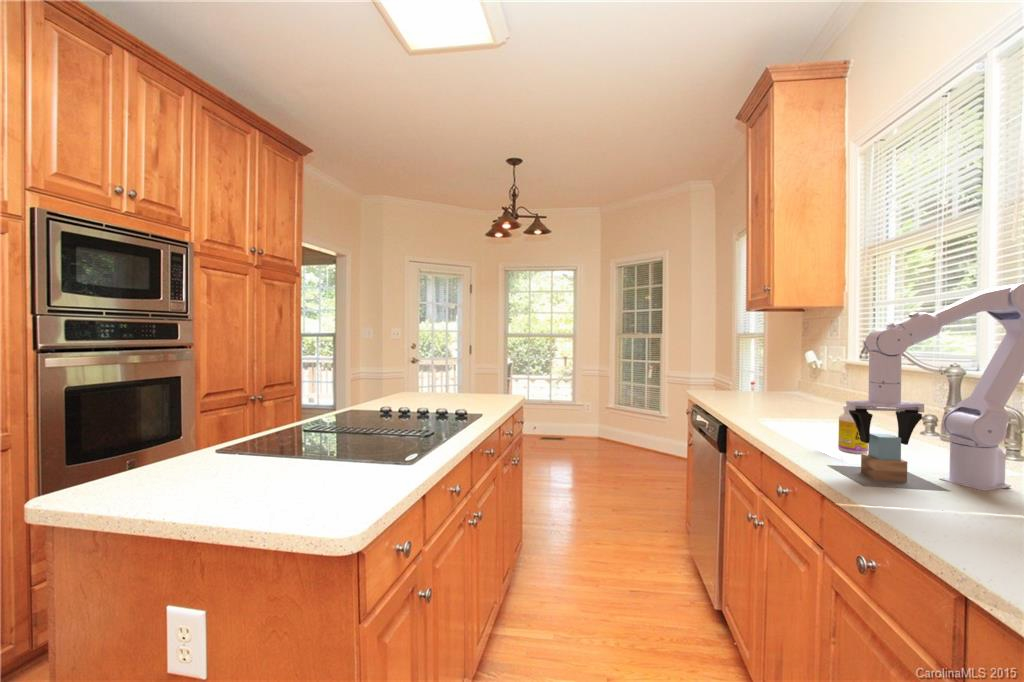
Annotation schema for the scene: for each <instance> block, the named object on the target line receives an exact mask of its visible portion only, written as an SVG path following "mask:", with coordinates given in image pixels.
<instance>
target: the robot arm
mask: <svg viewBox="0 0 1024 682" xmlns="http://www.w3.org/2000/svg"><path fill="white" fill-rule="evenodd" d="M981 312H986V313H987V314H988V315H989V316H990V317H992V318H993V319H994V320H995V321H997V322H998V323H999V324H1000V325H1002V328H1004V330H1005V332H1006V333H1005V335H1004V336H1003V338H1002V340H1001V342H1000V344H999V345H998V347H997V348H996V351H995V353H994V354H993V355H992V358H991V359H990V360H989V362H988V365H987V366H986V368H985V370H984V371H983V373H982V375H981V376H980V378H979V380H978V382H977V384H976V386H975V388H973V390H972V393H971V394H970V396H968V397H966V398H965V399H963V400H961V401H959V402H957V404H956V406H955V407H954V408H952V410H950V411H948V412H947V413H946V414H945V415H944V417H943V419H942V427H943V429H944V431H945V432H946V434H948V436H949V437H948V438H949V472H948V473H949V475H948V476H945V477H939V480H940V481H943V482H947V483H951V484H956V485H960V486H964V487H968V488H971V489H975V490H981V491H992V490H996V489H1005V488H1011V486H1012V485H1011V484H1009V483H1006V455H1005V453H1004V451H1003V450H1002V448H1001V447H999V444H1001V443H1002V442H1004V440H1005V439H1006V437H1007V434H1008V431H1007V430H1008V429H1007V426H1008V423H1009V422H1010V419H1011V417H1010V415H1009V413H1008V412H1007V410H1006V408H1005V406H1006V405H1007V403H1008V401H1009V400H1010V398H1011V396H1012V394H1013V392H1014V391H1015V390H1016V387H1017V386H1018V384H1020V383H1019V382H1020V381H1021V379H1022V377H1023V376H1024V282H1022V283H1016V284H1008V285H996V286H995V285H994V286H990V287H988V288H987V289H984V290H983V289H982V290H979V291H976V292H975V293H973V294H970V295H968V296H966V297H964V298H962V299H960V300H958V301H956V302H953V303H951V304H950V305H947V306H945V307H943V308H941V309H939V310H937V311H935V312H933V313H928V312H925V311H922V312H918V311H917V312H911V313H908V314H907V315H908V317H907V318H905V319H903V320H901V321H897V322H895V323H893V322H892V323H891V322H890V323H888V324H886V328H885V329H876V330H873V331H871V332H869V333H868V335H866V338H865V341H863V346H864V349H865V351H866V352H868V355H869V356H868V400H846V402H845V403H846V404H845V405H846V409H848V410H849V413H850V415H851V416H852V418H853V420H854V422H855V424H856V426H857V429H858V432H859V435H860V439H861V441H862V442H864V443H868V444H869V441H870V432H871V431H870V430H871V424H872V419H873V417H874V416H873V414H872V413H870V412H869V411H874V412H877V411H880V412H882V411H883V412H895V416H896V420H897V428H898V429H897V432H898V433H897V437H899V438H901V445H906V446H908V445H909V442H910V439H911V436H912V433H913V432H914V429H915V428H916V427H917V425H918V423H919V422H920V421H921V420H922V418H923V414H922V413H925V403H923V402H911V401H902V355H903V353H905V352H906V351H907V349H908V348H910V347H912V346H914V345H916V344H919V343H921V342H924V341H927V340H928V339H931V338H933V337H935V336H938V335H939V334H940V332H941V330H942V327H944V326H947V325H950V324H952V323H954V322H957V321H959V320H962V319H965V318H968V317H970V316H973V315H976V314H978V313H981Z"/></svg>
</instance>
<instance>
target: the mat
mask: <svg viewBox="0 0 1024 682" xmlns="http://www.w3.org/2000/svg"><path fill="white" fill-rule="evenodd" d="M826 466H828V467H829V468H831V469H833V470H834V471H836V472H838V473H840V474H842V475H843V476H845V477H847V478H848V479H850V480H852V481H853V482H855V483H857V484H859V485H860V486H862V487H871V488H872V487H873V488H888V489H891V488H892V489H906V490H923V491H939V492H940V491H943V492H951V490H949V489H947V488H945V487H942V486H940V485H939V484H936V483H934V482H931V481H929V480H927V479H925V478H922V477H921V476H918V475H915V474H914V473H911V472H909V471H907V482H900V481H882V480H875V479H873V478H871V477H869V476H867V475H865V474H863V473H861V466H855V465H854V466H851V465H830V464H827V465H826Z"/></svg>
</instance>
